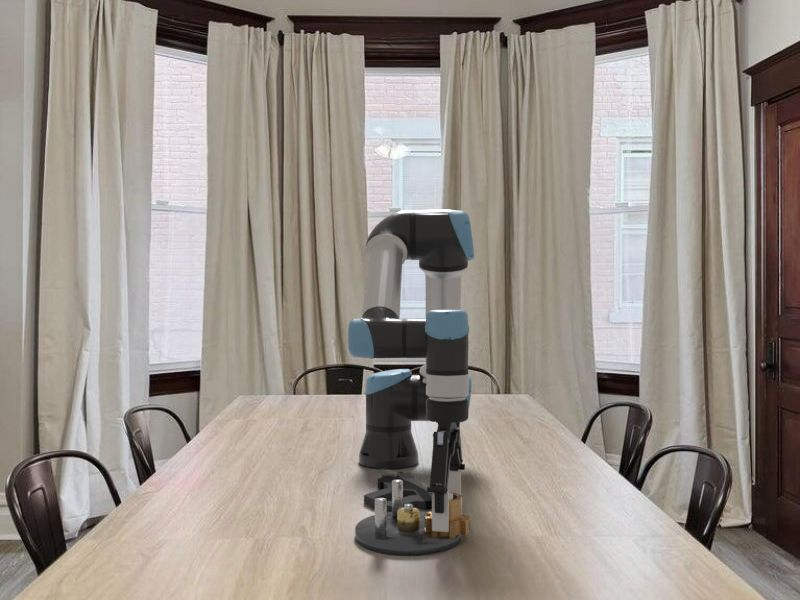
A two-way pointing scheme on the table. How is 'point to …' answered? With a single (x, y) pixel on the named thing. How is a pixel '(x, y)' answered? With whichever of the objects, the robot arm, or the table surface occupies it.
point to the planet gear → (452, 520)
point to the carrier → (400, 529)
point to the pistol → (411, 492)
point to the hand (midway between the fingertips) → (447, 517)
